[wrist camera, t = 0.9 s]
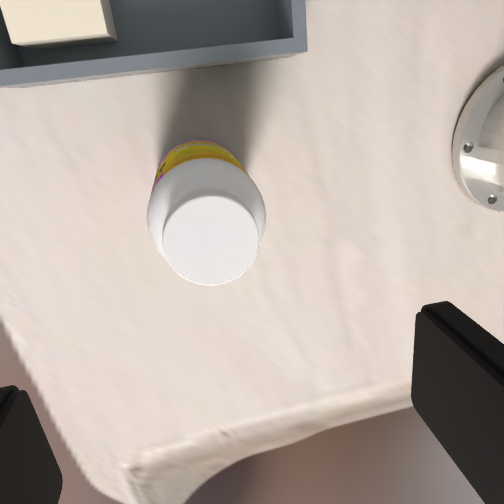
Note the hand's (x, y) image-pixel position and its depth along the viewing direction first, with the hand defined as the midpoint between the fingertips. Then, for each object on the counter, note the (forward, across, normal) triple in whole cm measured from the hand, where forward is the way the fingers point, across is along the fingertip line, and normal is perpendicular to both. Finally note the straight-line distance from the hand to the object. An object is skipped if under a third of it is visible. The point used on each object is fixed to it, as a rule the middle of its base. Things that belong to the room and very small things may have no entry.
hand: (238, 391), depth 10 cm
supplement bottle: (+23, 0, 0) cm, 23 cm away
